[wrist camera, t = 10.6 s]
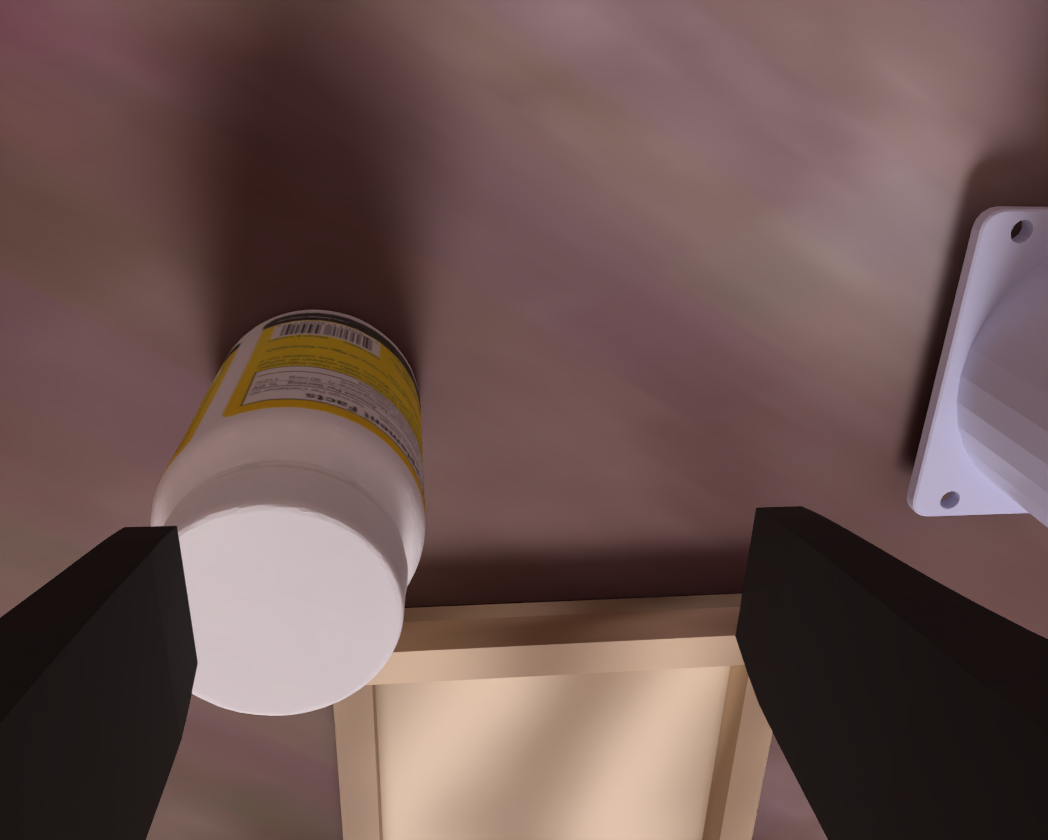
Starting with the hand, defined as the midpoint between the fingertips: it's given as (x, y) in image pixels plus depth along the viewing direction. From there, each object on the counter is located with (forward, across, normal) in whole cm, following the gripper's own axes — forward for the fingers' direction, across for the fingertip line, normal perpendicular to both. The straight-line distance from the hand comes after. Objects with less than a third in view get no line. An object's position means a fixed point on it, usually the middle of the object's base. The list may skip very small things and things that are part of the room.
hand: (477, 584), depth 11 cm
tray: (+10, -3, +14) cm, 18 cm away
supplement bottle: (+11, +3, +2) cm, 11 cm away
